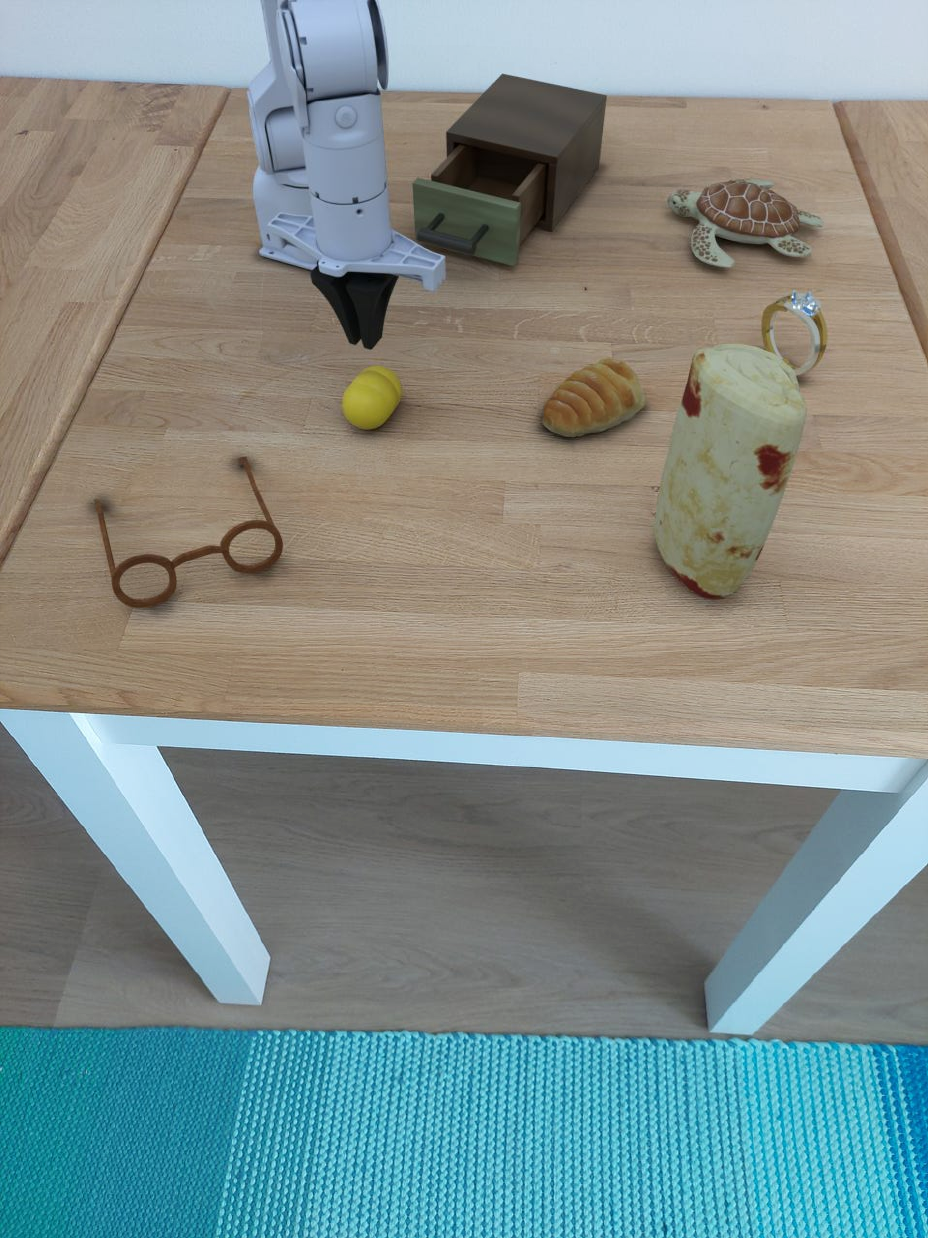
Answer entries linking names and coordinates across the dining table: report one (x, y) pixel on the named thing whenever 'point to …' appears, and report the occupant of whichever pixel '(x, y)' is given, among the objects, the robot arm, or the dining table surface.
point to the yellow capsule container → (371, 397)
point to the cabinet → (538, 133)
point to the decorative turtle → (741, 219)
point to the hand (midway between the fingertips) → (365, 339)
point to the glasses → (191, 552)
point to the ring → (808, 314)
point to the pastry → (594, 399)
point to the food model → (727, 465)
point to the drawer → (480, 203)
